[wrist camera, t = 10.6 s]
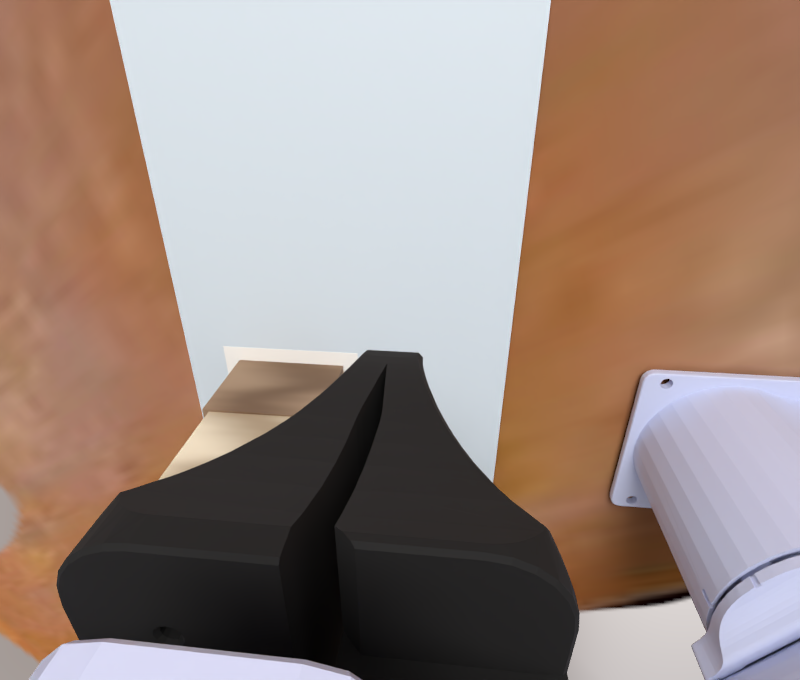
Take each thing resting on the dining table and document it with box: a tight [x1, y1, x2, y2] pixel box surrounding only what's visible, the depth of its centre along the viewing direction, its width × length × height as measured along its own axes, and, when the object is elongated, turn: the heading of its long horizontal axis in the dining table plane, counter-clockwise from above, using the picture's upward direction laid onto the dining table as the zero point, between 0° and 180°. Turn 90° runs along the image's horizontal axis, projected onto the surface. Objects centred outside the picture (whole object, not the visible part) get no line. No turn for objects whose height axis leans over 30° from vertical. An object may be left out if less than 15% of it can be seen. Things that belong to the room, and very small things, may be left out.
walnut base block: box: [202, 360, 344, 417], centre depth 23 cm, size 5×5×4 cm
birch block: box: [159, 412, 290, 480], centre depth 19 cm, size 4×4×5 cm
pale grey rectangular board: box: [110, 0, 551, 483], centre depth 22 cm, size 15×22×1 cm
